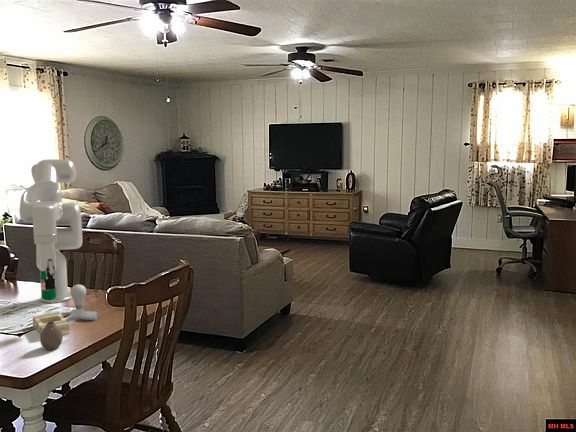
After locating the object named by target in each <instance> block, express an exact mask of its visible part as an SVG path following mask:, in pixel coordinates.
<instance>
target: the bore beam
mask: <svg viewBox="0 0 576 432" xmlns="http://www.w3.org/2000/svg"><path fill="white" fill-rule="evenodd" d="M48 322H54V323H55V324H56V326H58V327H59V328H60V330H61V332H62V336H65V335H69V334H70V325H69V323H68V322H67V321H66V317H64V316H63V315H62V314H61V312H60V311H54V312H48V313H42V314H37V315H32V324H33V325H32V327H33V328H34V329H35V330H36V332H37V334H38V335H39V336H40V335H41V332H42V330H43V329H44V328H45V326H46V324H47V323H48Z"/></svg>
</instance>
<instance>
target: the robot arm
mask: <svg viewBox="0 0 576 432" xmlns="http://www.w3.org/2000/svg"><path fill="white" fill-rule="evenodd" d="M30 172H31V176H32V179H33V181H34V184H32V185H30V186H29V187H28V188H27V189H26V190H25V191H23V193H22V195H21V197H20V202H19V217H20V218H21V220H22V221H23V222H25V223H32V227H33V241H34V243H33V244H34V245H36V246H35V247H36V249H35V250H36V252H35V253H36V256H35V257H36V267H37V269H39V271H40V270H41V271H42V272H44V271H45V277H46V279H45V289H46V290H50V289H55V278H54V270H55V275H56V293H57V297H56V298H55V299H52V300H43V299H42V297H40V301H41V302H42V303H45V304H46V303H48V304H57V303H61V302H66V301H69V300H71V299H73V298H72V296H71V294H70V292H69V289H68V272H67V270H68V269H67V259H66V257H65V255H64V254H63V253H62V252H61V251H62V250H65V251H67V250H78V249H80V248H81V247H83V223H82V221H83V220H82V212H81V207H80V206H79V204H77V203H75V202H64V203H63V196H62V195H63V194H62V191H61V189H60V188H59V187H60V185H59V184H63V183H66V184H67V183H68V184H69V183H74V182H75V181H76V178H77V169H76V165H75V163H74V162H73V161H72V160H70V159H66V158H65V159H60V158H59V159H52V158H51V159H42V160H40V161H39V162H37V163H35V164H33V166H31V170H30ZM66 225H69V226H70V227H57V226H66ZM53 266H54V267H53ZM46 269H49V270H46ZM47 272H49V273H48V275H47Z"/></svg>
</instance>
